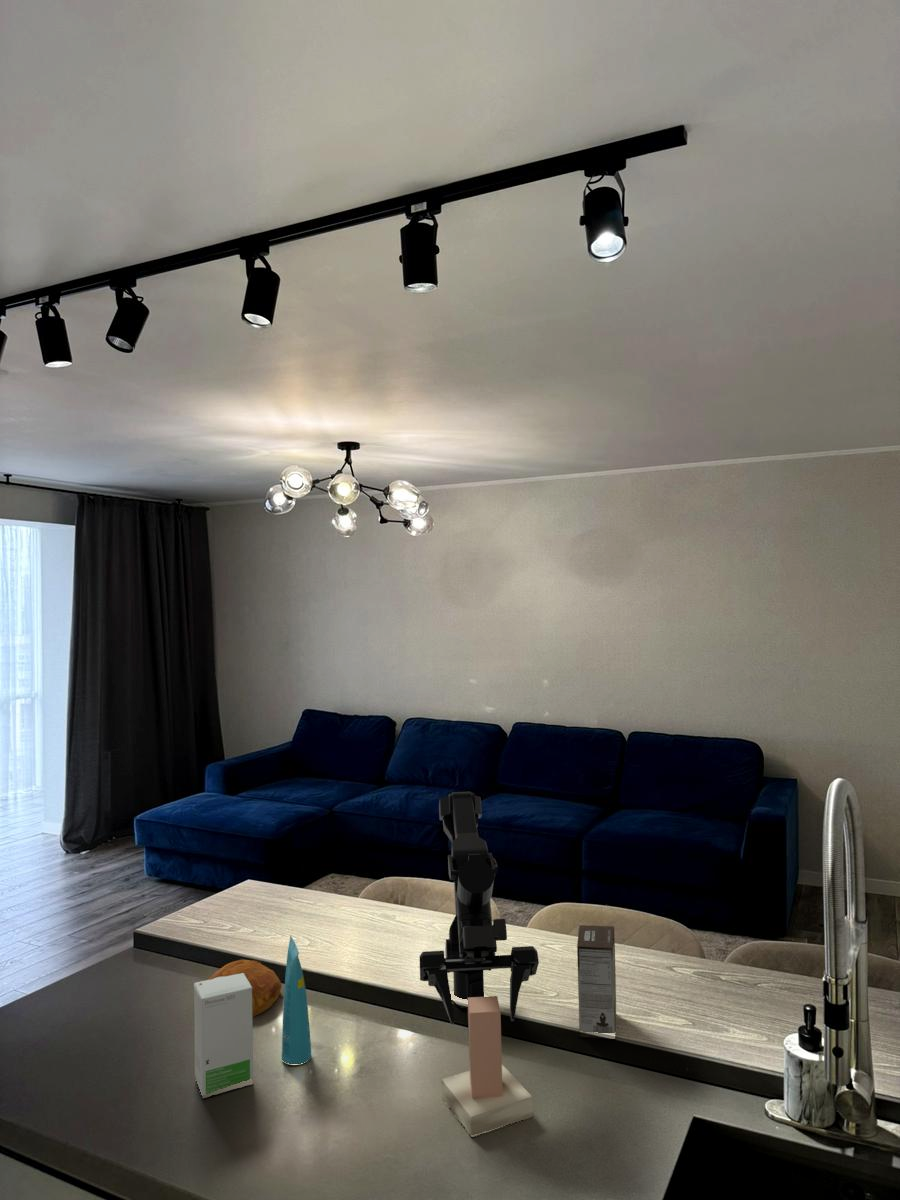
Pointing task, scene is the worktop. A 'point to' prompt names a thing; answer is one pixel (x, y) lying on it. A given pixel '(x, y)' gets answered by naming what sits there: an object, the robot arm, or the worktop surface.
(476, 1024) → the column
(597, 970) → the coffee box
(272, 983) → the bread loaf
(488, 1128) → the plinth
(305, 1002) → the tube
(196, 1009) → the skincare box
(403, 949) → the worktop surface
